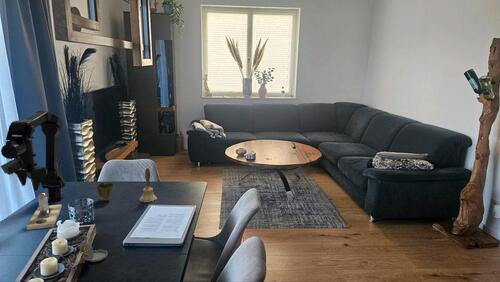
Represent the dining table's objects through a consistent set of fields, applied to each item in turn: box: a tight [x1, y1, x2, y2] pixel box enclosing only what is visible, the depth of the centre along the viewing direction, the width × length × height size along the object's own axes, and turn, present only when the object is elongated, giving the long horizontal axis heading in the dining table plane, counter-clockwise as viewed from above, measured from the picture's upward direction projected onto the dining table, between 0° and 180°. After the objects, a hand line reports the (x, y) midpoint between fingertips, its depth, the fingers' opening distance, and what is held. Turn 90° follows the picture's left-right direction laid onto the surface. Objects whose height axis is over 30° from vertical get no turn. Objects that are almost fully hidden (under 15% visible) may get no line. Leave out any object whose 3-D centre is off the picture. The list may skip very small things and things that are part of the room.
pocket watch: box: [78, 234, 109, 263], centre depth 110 cm, size 8×8×10 cm
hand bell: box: [138, 167, 158, 203], centre depth 162 cm, size 8×8×16 cm
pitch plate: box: [26, 204, 63, 231], centre depth 140 cm, size 20×9×3 cm, turn 20°
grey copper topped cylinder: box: [37, 192, 51, 218], centre depth 138 cm, size 4×4×10 cm
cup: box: [96, 181, 114, 202], centre depth 160 cm, size 8×7×8 cm
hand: (29, 187), depth 137 cm, fingers open, 9 cm apart
